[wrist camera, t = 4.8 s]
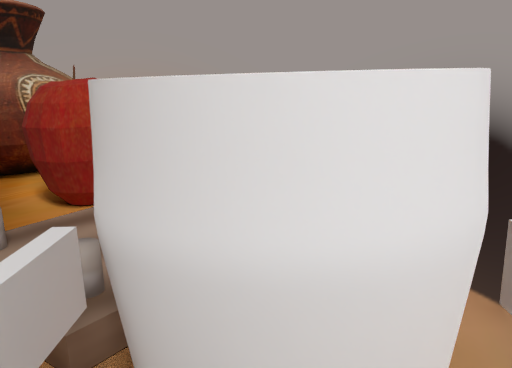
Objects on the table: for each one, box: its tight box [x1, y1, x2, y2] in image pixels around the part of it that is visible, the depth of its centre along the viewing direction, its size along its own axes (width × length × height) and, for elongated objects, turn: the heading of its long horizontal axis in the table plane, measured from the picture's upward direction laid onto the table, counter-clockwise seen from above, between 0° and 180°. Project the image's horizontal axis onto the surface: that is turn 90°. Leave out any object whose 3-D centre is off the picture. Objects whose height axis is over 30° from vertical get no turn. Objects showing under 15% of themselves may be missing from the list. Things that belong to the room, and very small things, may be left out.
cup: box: [88, 68, 491, 368], centre depth 12 cm, size 9×9×12 cm
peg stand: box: [0, 207, 128, 368], centre depth 28 cm, size 16×16×4 cm
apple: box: [22, 66, 96, 205], centre depth 44 cm, size 10×10×14 cm
